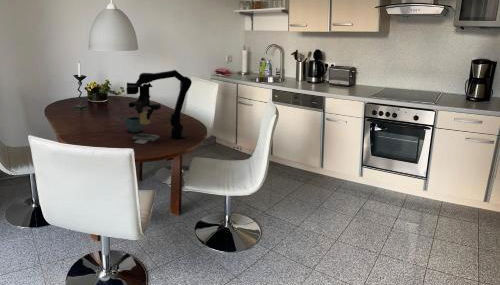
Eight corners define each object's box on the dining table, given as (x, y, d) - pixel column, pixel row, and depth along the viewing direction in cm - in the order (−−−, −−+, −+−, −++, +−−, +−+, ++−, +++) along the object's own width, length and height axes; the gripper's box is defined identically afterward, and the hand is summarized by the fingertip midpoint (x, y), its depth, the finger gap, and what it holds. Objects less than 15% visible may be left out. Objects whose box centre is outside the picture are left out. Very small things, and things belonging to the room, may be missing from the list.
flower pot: (136, 129, 252) (136, 116, 250) (144, 131, 247) (143, 118, 245) (125, 131, 246) (124, 118, 243) (132, 134, 241) (132, 120, 238)
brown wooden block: (150, 123, 231) (150, 112, 229) (146, 124, 227) (146, 113, 225) (143, 122, 232) (143, 111, 230) (140, 123, 228) (139, 112, 226)
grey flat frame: (159, 138, 235) (159, 135, 235) (153, 141, 228) (153, 138, 227) (138, 135, 238) (138, 133, 237) (132, 138, 230) (132, 136, 230)
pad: (148, 141, 228) (148, 140, 228) (144, 143, 222) (143, 142, 222) (139, 140, 229) (139, 139, 229) (134, 142, 223) (134, 141, 223)
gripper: (123, 94, 218) (124, 120, 223) (152, 97, 215) (153, 123, 219) (132, 92, 229) (133, 116, 233) (161, 94, 225) (161, 119, 230)
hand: (145, 119), depth 229 cm, fingers closed on brown wooden block, 4 cm apart
